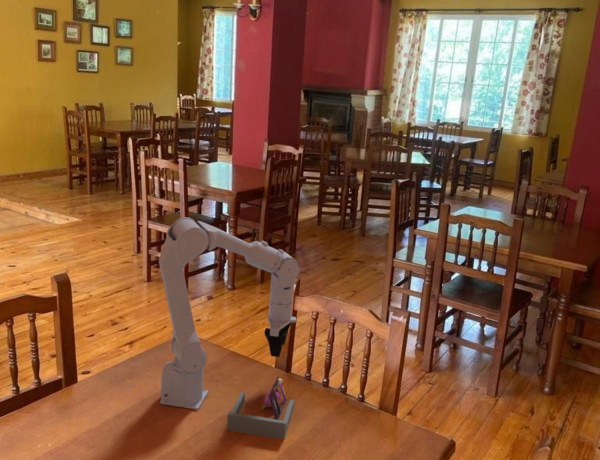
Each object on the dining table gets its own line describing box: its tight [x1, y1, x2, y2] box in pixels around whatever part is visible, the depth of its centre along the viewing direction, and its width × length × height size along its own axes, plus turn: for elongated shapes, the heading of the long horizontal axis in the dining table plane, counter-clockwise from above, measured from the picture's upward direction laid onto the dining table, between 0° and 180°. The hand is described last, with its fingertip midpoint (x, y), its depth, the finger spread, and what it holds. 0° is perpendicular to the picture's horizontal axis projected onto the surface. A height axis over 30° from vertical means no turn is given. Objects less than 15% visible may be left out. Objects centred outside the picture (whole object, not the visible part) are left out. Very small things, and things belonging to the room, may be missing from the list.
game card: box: [262, 375, 287, 420], centre depth 136 cm, size 7×5×9 cm
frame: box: [226, 391, 295, 440], centre depth 132 cm, size 13×12×4 cm
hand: (277, 350), depth 146 cm, fingers open, 6 cm apart
